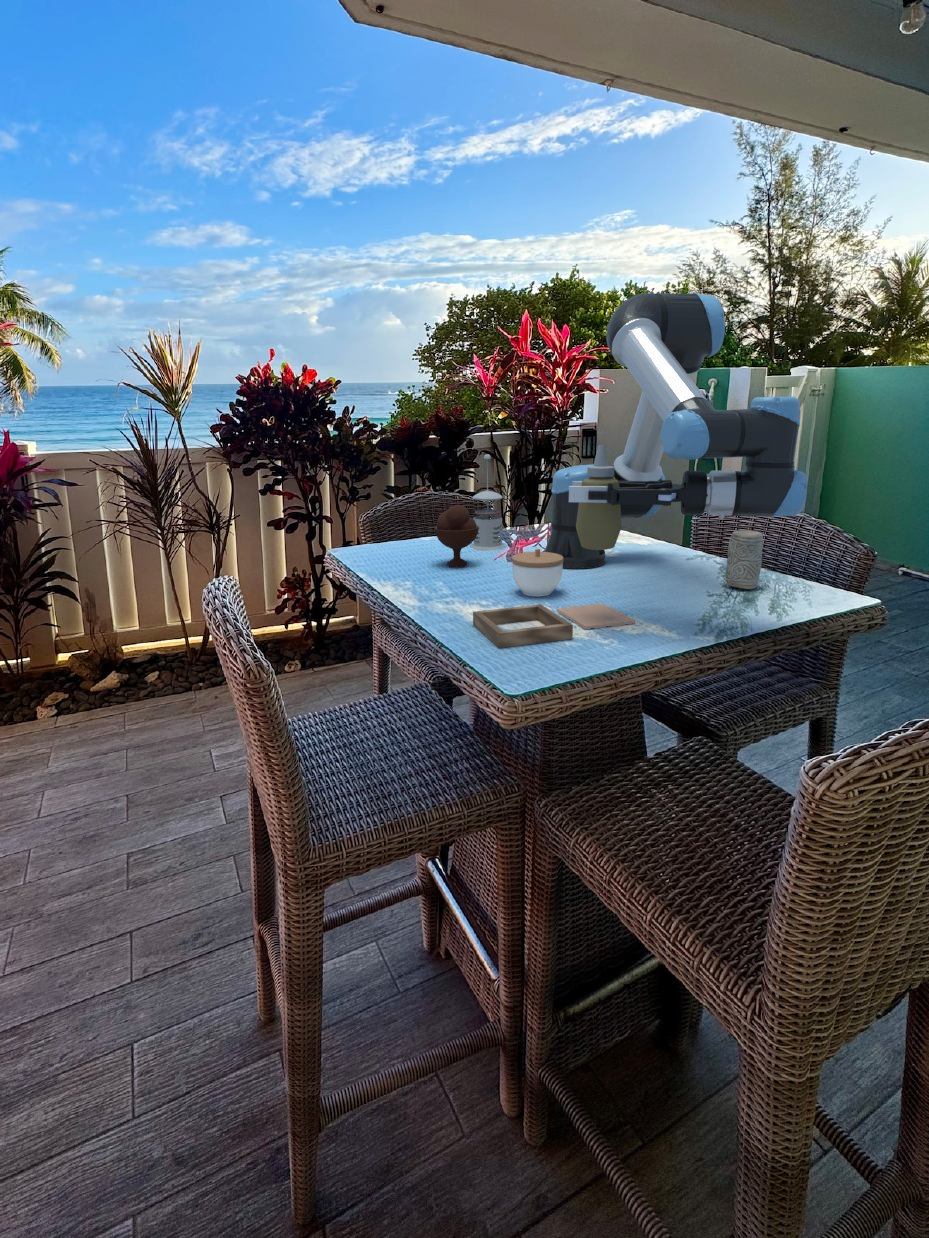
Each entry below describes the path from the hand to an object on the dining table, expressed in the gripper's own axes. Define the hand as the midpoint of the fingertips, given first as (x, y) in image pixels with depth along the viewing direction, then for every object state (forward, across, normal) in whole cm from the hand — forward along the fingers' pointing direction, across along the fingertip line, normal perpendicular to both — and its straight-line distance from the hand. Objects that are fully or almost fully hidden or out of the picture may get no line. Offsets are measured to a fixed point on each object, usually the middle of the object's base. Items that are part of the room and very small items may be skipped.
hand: (571, 491), depth 128 cm
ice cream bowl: (+31, +38, -23) cm, 54 cm away
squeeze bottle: (-5, 0, -10) cm, 11 cm away
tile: (-5, 0, -23) cm, 24 cm away
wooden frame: (+7, -11, -23) cm, 27 cm away
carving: (-34, +27, -24) cm, 50 cm away
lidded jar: (+8, +16, -24) cm, 29 cm away
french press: (+28, +62, -23) cm, 72 cm away
